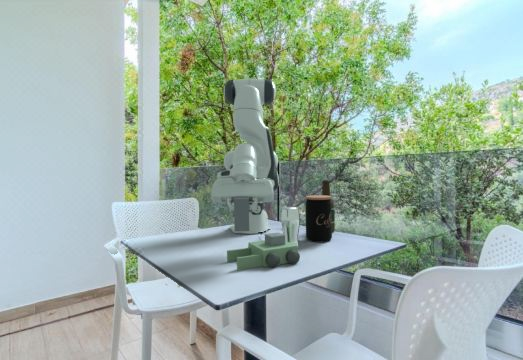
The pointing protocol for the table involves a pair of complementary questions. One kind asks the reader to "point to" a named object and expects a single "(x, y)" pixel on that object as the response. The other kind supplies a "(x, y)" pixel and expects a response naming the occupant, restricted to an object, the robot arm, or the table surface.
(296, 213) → the beer glass
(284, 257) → the green toy forklift
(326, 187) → the beer bottle
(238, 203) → the tall gray column
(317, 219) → the coffee jar
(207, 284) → the table surface
